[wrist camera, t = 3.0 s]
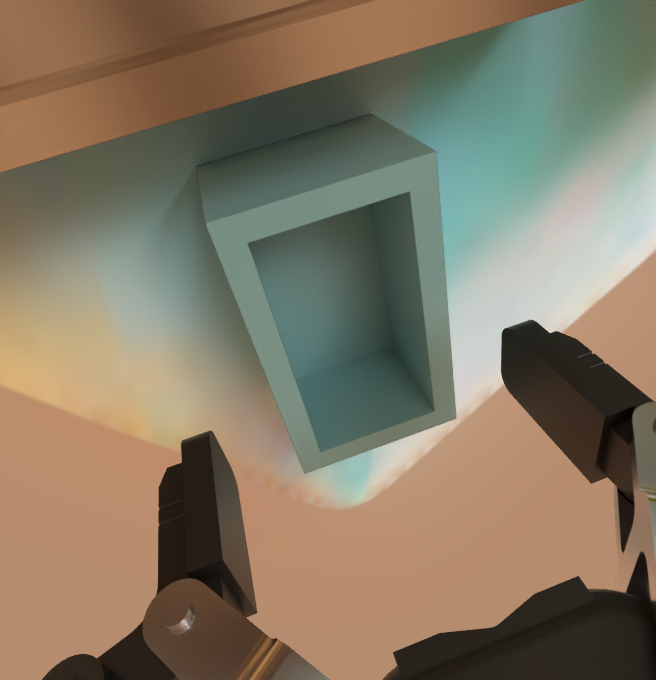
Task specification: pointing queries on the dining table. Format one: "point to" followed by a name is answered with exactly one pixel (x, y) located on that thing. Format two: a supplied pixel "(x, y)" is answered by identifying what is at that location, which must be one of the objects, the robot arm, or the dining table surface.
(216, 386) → the dining table surface
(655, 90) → the dining table surface
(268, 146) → the teal tote
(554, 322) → the dining table surface
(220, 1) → the walnut crate
